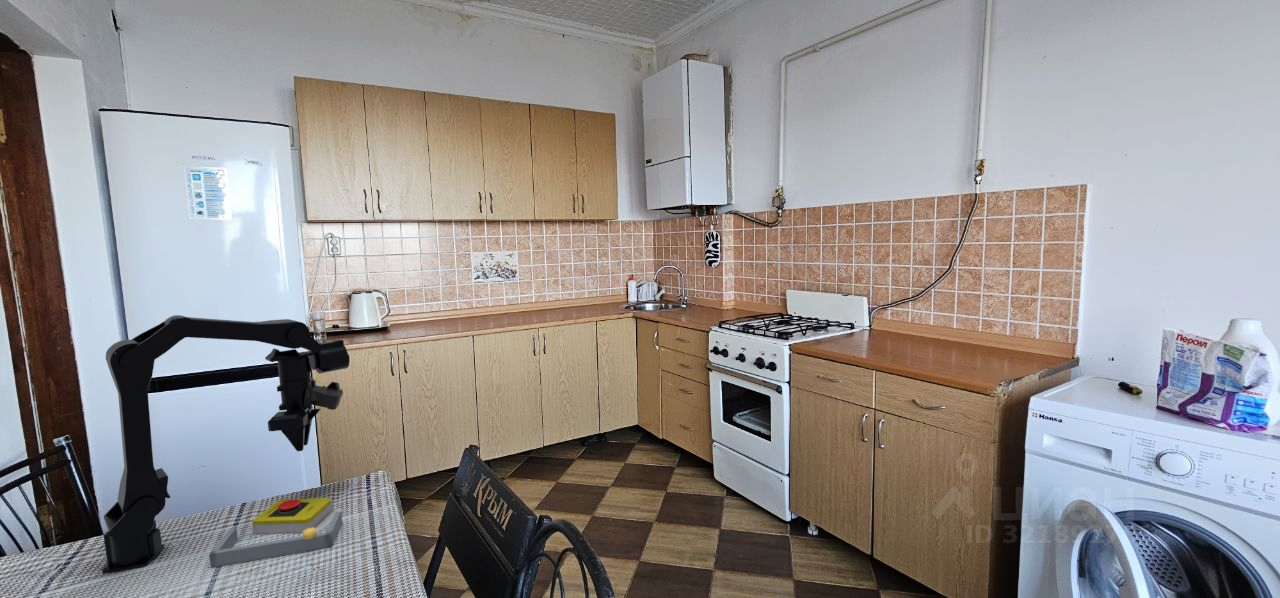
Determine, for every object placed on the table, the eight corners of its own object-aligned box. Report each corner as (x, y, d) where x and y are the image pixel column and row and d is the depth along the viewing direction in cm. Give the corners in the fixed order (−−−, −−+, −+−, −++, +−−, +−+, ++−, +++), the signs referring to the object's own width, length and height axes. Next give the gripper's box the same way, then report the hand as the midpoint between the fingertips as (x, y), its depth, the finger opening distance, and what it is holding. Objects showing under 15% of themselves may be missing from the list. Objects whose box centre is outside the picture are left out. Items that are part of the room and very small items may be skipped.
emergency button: (271, 493, 115) (343, 491, 116) (274, 513, 116) (345, 511, 116) (240, 516, 106) (318, 513, 106) (243, 537, 107) (320, 535, 107)
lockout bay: (209, 569, 96) (207, 549, 95) (231, 540, 105) (229, 522, 104) (331, 548, 101) (329, 529, 101) (342, 522, 110) (340, 505, 110)
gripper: (326, 385, 110) (333, 459, 112) (346, 364, 128) (352, 428, 130) (263, 391, 107) (271, 467, 109) (292, 369, 125) (298, 435, 127)
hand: (302, 447), depth 119 cm, fingers open, 3 cm apart
